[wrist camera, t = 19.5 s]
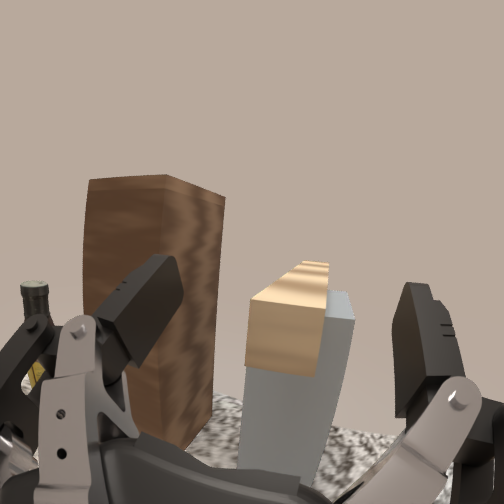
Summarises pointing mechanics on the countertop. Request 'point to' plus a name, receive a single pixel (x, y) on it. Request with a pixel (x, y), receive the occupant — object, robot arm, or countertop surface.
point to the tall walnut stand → (193, 280)
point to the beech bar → (289, 321)
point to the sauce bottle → (35, 304)
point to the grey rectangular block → (296, 403)
